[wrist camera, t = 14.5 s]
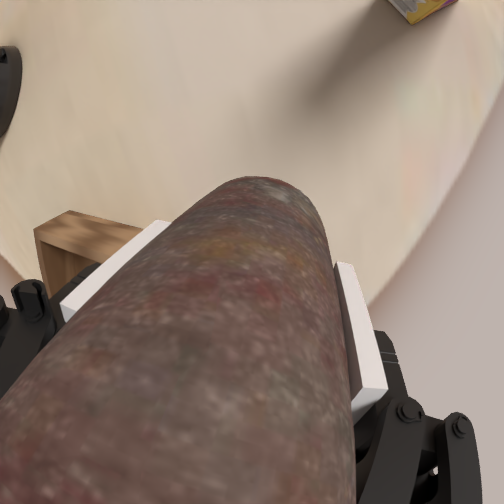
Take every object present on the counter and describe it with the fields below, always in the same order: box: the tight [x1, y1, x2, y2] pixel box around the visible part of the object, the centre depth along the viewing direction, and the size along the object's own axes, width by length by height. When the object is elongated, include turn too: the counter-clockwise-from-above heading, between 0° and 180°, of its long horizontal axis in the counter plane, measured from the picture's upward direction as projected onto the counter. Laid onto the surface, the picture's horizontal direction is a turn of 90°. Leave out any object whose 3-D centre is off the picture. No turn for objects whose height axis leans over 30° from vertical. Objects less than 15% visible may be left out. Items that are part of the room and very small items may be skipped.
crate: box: [33, 210, 144, 299], centre depth 26 cm, size 15×14×6 cm
